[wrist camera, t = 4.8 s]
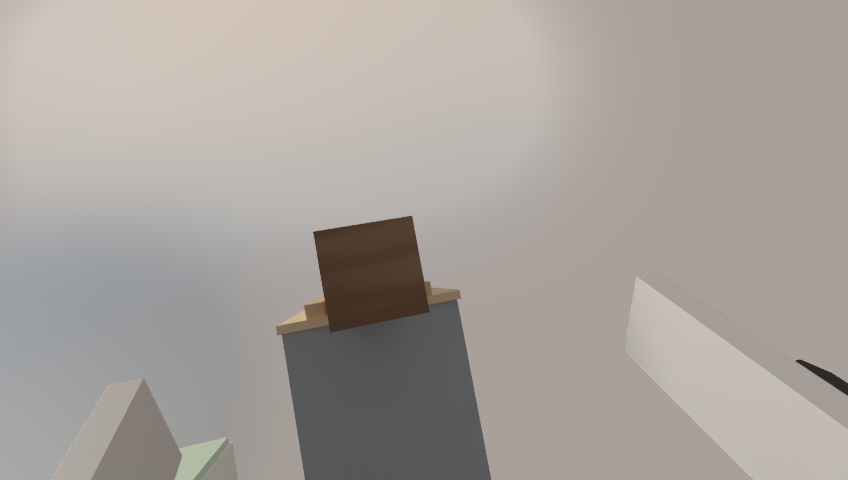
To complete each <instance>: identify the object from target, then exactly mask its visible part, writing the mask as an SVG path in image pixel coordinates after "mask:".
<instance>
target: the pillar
mask: <svg viewBox="0 0 848 480" xmlns="http://www.w3.org/2000/svg"><path fill="white" fill-rule="evenodd" d="M424 284H425V289H426V295H427V300H428V305H429V311H430V312H428V313H423V314H418V315H413V316H409V317H404V318H399V319H394V320H389V321H384V322H379V323H374V324H370V325H365V326H360V327H355V328H350V329H345V330H340V331H336V332H331V333H330V328H329V322H328V316H327V310H326V304H325V298H324V297H321V298H319V299H317V300H315V301H313V302H311V303H309V304H307V305H305V306H304V307H305V310H304V311H302V312H300V313H298V314H297V315H295V316H293V317H291V318H290V319H288V320H286V321H284V322H283V323H281V324H279V325H277V326H276V329H277V335H282V338H283V344H284V350H285V356H286V363H287V369H288V375H289V381H290V388H291V394H292V400H293V407H294V413H295V419H296V425H297V432H298V438H299V444H300V450H301V457H302V463H303V469H304V475H305V480H491V476H490V471H489V466H488V461H487V455H486V450H485V445H484V439H483V434H482V429H481V424H480V418H479V413H478V408H477V403H476V398H475V392H474V387H473V382H472V376H471V371H470V366H469V360H468V355H467V350H466V345H465V339H464V334H463V329H462V324H461V318H460V313H459V307H458V302H457V299H460V298H461V296H460V292H459V290H453V289H441V288H431V285H430V282H428V281H426V282H424Z"/></svg>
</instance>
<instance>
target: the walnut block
mask: <svg viewBox="0 0 848 480" xmlns="http://www.w3.org/2000/svg"><path fill="white" fill-rule="evenodd" d="M313 233H314V238H315V245H316V250H317V257H318V263H319V269H320V274H321V280H322V286H323V292H324V298H325V304H326V310H327V316H328V322H329V328H330V333H331V332H336V331H340V330H345V329H350V328H355V327H360V326H365V325H370V324H374V323H379V322H384V321H389V320H394V319H399V318H404V317H409V316H413V315H418V314H423V313H428V312H430V311H429V305H428V300H427V295H426V289H425V284H424V278H423V273H422V268H421V263H420V257H419V251H418V246H417V241H416V235H415V230H414V225H413V219H412V216H408V217H402V218H396V219H389V220H383V221H377V222H371V223H365V224H359V225H352V226H347V227H340V228H334V229H328V230H322V231H316V232H313Z"/></svg>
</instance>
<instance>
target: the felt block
mask: <svg viewBox="0 0 848 480" xmlns="http://www.w3.org/2000/svg"><path fill="white" fill-rule="evenodd" d="M179 450H180V452H181V454H182V459H181V462H180V465H179V468H178V471H177V474H176V477H175V480H238V479H237V473H236V465H235V459H234V452H233V445H232V442H228V438H227V437H226V438H221V439H217V440H213V441H209V442H205V443H200V444H196V445H192V446H188V447H184V448H180V449H179Z"/></svg>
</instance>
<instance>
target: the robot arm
mask: <svg viewBox="0 0 848 480" xmlns="http://www.w3.org/2000/svg"><path fill="white" fill-rule="evenodd" d="M624 351H625V352H626V353H627V354H628V355H629V356H630V357H631V358H632V359H633V360H634V361H635V362H636V363H637V364H638V365H639V366H640V367H641V368H642V369H643V370H644V371H645V372H646V373H647V374H648V375H649V376H650V377H651V378H652V379H653V380H654V381H655V382H656V383H657V384H658V385H659V386H660V387H661V388H662V389H663V390H664V391H665V392H666V393H667V394H668V395H669V396H670V397H671V398H672V399H673V400H674V401H675V402H676V403H677V404H678V405H679V406H680V407H681V408H682V409H683V410H684V411H685V412H686V413H687V414H688V415H689V416H690V417H691V418H692V419H693V420H694V421H695V422H696V423H697V424H698V425H699V426H700V427H701V428H702V429H703V430H704V431H705V432H706V433H708V435H709V436H710V437H711V438H712V439H713V440H714V441H715V442H716V443H717V444H718V445H719V446H720V447H721V448H722V449H723V450H724V451H725V452H726V453H727V454H728V455H729V456H730V457H731V458H732V459H733V460H734V461H735V462H736V463H737V464H738V465H739V466H740V467H741V468H742V469H743V470H744V471H745V472H746V473H747V474H748V475H749V476H750V477H751V478H752V479H753V480H848V383H846V382H845V381H843V380H842V379H840V378H839V377H837V376H836V375H834V374H832V373H831V372H828V371H826V370H824V369H821V368H819V367H816V366H814V365H812V364H810V363H807V362H805V361H803V360H797V361H794V360H793V359H791V358H790V357H788V356H787V355H785V354H783V353H782V352H781V351H779V350H777V349H776V348H775V347H773V346H772V345H770V344H769V343H767V342H766V341H764V340H762V339H761V338H760V337H758V336H756V335H755V334H753V333H752V332H750V331H749V330H747V329H746V328H744V327H743V326H741V325H740V324H738V323H737V322H735V321H734V320H732V319H731V318H729V317H728V316H726V315H725V314H723V313H722V312H720V311H718V310H717V309H716V308H714V307H713V306H711V305H710V304H708V303H706V302H705V301H704V300H702V299H701V298H699V297H698V296H696V295H695V294H693V293H691V292H690V291H688V290H687V289H686V288H684V287H682V286H681V285H680V284H678V283H676V282H675V281H673V280H672V279H670V278H669V277H667V276H666V275H664V274H663V273H661V272H655V273H649V274H645V275H640V276H637V277H636V282H635V288H634V294H633V301H632V306H631V312H630V318H629V323H628V330H627V336H626V341H625V348H624ZM181 459H182V454H181V452H180V450H179V448H178V446H177V444H176V442H175V440H174V438H173V436H172V434H171V432H170V430H169V428H168V426H167V424H166V422H165V420H164V418H163V416H162V414H161V412H160V410H159V408H158V406H157V404H156V402H155V400H154V398H153V396H152V394H151V392H150V389H149V387H148V385H147V384H146V381H145V379H144V378H140V379H135V380H130V381H126V382H121V383H116V384H111V385H108V386H107V387H106V389H105V391H104V393H103V394H102V396H101V397H100V399H99V400H98V402H97V404H96V405H95V407H94V409H93V410H92V412H91V414H90V415H89V417H88V418H87V420H86V422H85V423H84V425H83V427H82V428H81V430H80V432H79V433H78V435H77V436H76V438H75V440H74V441H73V443H72V445H71V446H70V448H69V450H68V451H67V453H66V454H65V456H64V458H63V459H62V461H61V463H60V464H59V466H58V467H57V469H56V471H55V472H54V474H53V476H52V477H51V479H50V480H175V477H176V474H177V471H178V468H179V465H180V462H181Z"/></svg>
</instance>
